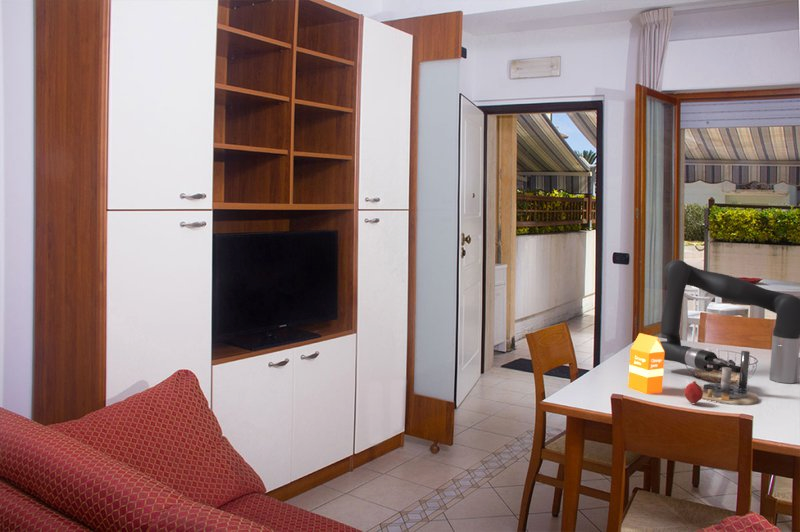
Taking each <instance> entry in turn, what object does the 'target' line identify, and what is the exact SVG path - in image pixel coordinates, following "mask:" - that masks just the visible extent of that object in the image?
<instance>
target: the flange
mask: <svg viewBox="0 0 800 532" xmlns="http://www.w3.org/2000/svg"><path fill="white" fill-rule="evenodd" d="M740 352H741V354H740V355H741V356H740V365H739V366H740V373H739V377H738V378H739V380H738V385H737V386H736V385H731V384H730V391H722V390H721V383H707V384H705V383H704V384H703V385H704V388H703V392H705V393H708V389H712V395H714V396H717V397H721V399H723V400H729V398H733V399H736V398H747V396H748V393H747V392H750V388H749V387H748V377H749V376H748V375H749V366H750V364H749V363H750V354H751V353H750V351H749V350H741V351H740Z"/></svg>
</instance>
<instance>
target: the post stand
mask: <svg viewBox="0 0 800 532" xmlns="http://www.w3.org/2000/svg"><path fill="white" fill-rule="evenodd" d="M731 370H732V369H731V368H728V367H722V371H721V379H720V384H721V390H722V391H730V385H731V384H732V383H731V379H732V371H731ZM699 386H700V387H701V389H702V391H703V388H704V384H703V385H699ZM747 393H748V396H747V398H736V399H733V398H729V400H723V399H721V397H717V396H714V395H712V389H708V393H705V392H703V396H702V398H703V399H702V398H701V399H702V400H704V399H707V400H706V401H708V400H711V401H710V402H712V401H716V402H715V403H717V402H721V403H720V404H723V403H729V404H728V405H731V404H738V405H737V406H749V405H754V404H757V403H758V402H759V396H758V395H757V394H755V393H753V392H751V391H749V392H747Z"/></svg>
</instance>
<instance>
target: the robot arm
mask: <svg viewBox="0 0 800 532" xmlns="http://www.w3.org/2000/svg"><path fill="white" fill-rule="evenodd" d="M663 272H664V273H663V274H664V276H665V278H666V287H667V288H666V295H665V296H666V297H665V302H664V306H663V310H662V315H661V322H660V323H661V324H660V333H661V334H662V335H664V336H665V337H666V341H663V340H661V341H660V340H659V341H660V343H661V345H662V347H663V350H664V361H669V362H675V363H679V364H682V365H685V366H688V367H691V368H694V369H698V370H701V371H703V372H708V373H710V372H713V371H720V372H722V367H728V368H731V369H732V370H731V373H736V374H740V365H736V362H735V361H734V360H733V359H728V360H726V359H724V358H721V357H718V355H717V354H716V353H715V352H714V351H709V350H707V349H701V348H697V347H696V348H695V347H692V346H687V345H682V342H681V336H680V328H681V321H682V309H683V301H684V295H685V290H686V287H687V286H690V287H694V288H697V289H700V290H701V291H703V292H706V293H709V294H710V295H712V296H715V297H718V298H721V299H723V300H727V301H730V302H733V303H737V304H741V305H743V304H744V305H747V306H754V307H759V308H762V309H765V310H767V311H769V312H772V313H775V314H776V318H775V325H774V328H773V330H772V342H771V343H772V344H771V352H770V353H771V355H770V366H769V380H770V381H773V382H777V383H782V384H795V383H799V382H800V356H799V355H800V298H799V297H797V296H795V295H793V294H790V293H785V292H779V291H775V290H770V289H767V288H763V287H761V286H759V285H756V284H755V283H752V282H749V281H746V280H744V279H741V278H738V277H735V276H732V275H728V274H725V273H719V272H715V271H714V272H713V271H708V270H703V269H701V268H698V267H695V266H693V265H690V264H689V263H687V262H685V261H683V260H680V259H674V260H673V259H672V260H671V261H669V262H667V264H666V265H665V266H664V269H663Z"/></svg>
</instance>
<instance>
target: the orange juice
mask: <svg viewBox="0 0 800 532" xmlns="http://www.w3.org/2000/svg"><path fill="white" fill-rule="evenodd" d="M629 354H630V355H629V368H628V371H629V372H628V386H627V388H628V389H631V390H633V391H636V392H639V393H642V394H645V395H651V394H658V393H663V380H664V368H665V367H664V365H665V360H664V350H663V347H662V345H661V343H660V339H659V337H658V336H654V335H650V334H645V333H642V332H639V333H638V335H637V337H636V339H635V340H634V343H633V344H632V346H631V347H630V351H629Z"/></svg>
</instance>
